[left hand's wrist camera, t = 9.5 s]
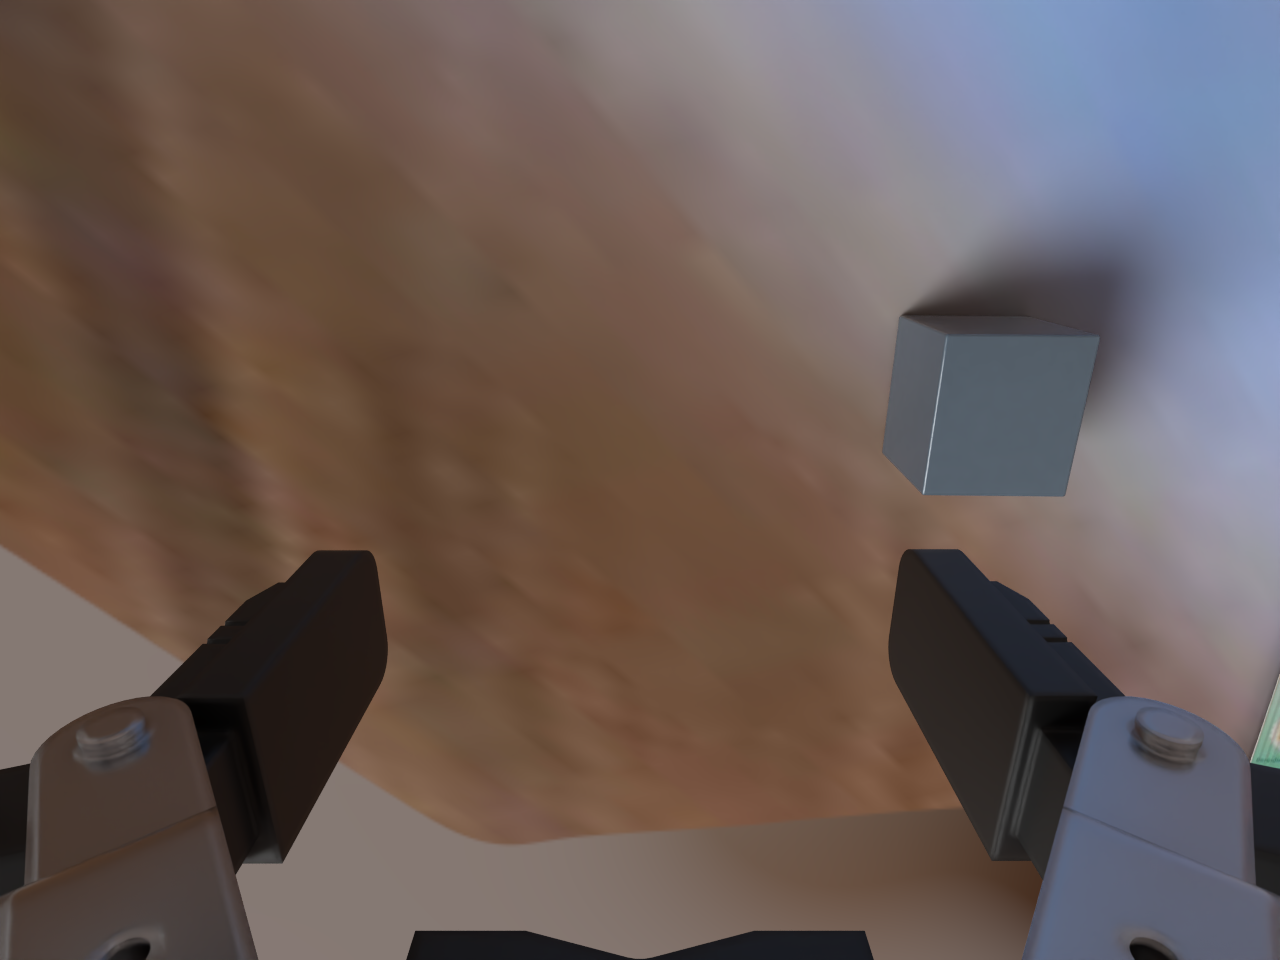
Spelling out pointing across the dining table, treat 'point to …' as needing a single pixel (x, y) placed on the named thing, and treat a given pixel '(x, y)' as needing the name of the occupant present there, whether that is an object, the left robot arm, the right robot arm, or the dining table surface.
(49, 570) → the dining table surface
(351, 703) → the left robot arm
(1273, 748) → the baking ingredient package
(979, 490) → the block
